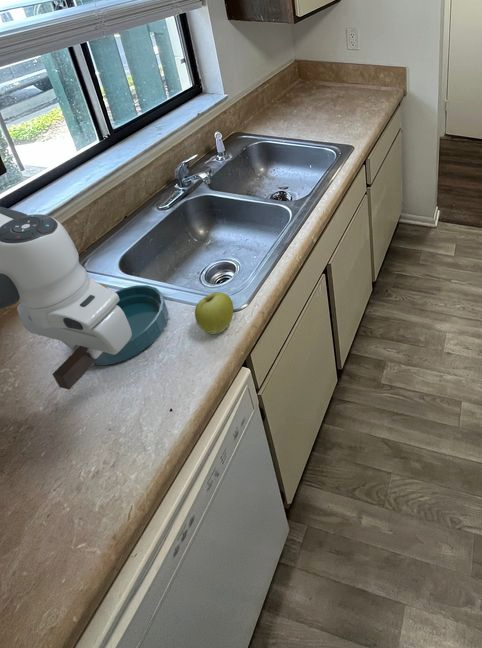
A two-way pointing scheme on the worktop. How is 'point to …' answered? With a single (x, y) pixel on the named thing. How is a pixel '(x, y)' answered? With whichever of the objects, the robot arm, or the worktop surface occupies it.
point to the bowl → (139, 320)
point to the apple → (214, 312)
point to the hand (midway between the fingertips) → (88, 352)
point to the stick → (74, 368)
